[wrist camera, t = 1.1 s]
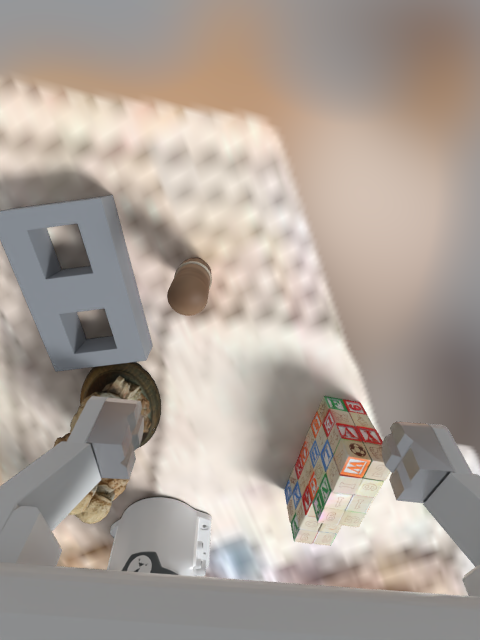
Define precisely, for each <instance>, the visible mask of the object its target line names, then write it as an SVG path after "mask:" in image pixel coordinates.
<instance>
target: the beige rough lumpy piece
mask: <svg viewBox="0 0 480 640" xmlns="http://www.w3.org/2000/svg"><path fill="white" fill-rule="evenodd" d="M92 396H97V397H108V398H117V399H127V400H136V401H141V405H142V410H141V413H140V414H141V415H142V416H143V418H144V430H143V436H142V440H141V443H140V446H139V447H141V446H142V445H144V444H145V443H147V441H149V440H150V438H151V437H152V436H153V434H154V433H155V431H156V428H157V427H156V426H158V424H159V420H160V415H161V399H160V394H159V391H158V388H157V386H156V384H155V381H154V380H153V379H152V377H151V375H150V374H149V373H148V372H146V371H145V370H143V369H142V368H141V366H140V365H139V364H137V363H135V362H129V363H121V364H113V365H105V366H97V367H94V368H93V369H92V370H91V371H90V373H89V374H88V376H87V378H86V380H85V381H84V384H83V387H82V390H81V397H80V404H81V406H80V407H79V409H78V412H77V413H76V414H75V415H74V417H73V419H72V422H71V425H70V426H71V430H70V433H68V434H66V435H65V436H63V438H61V437H60V438H57V440H56V442H55V445H54V447H55V446H56V445H57V444H59V443H60V442H61V441H66V442H67V440H68V438H69V436H70V434H71V432H72V430H73V428H74V426H75V424H76V422H77V420H78V418H79V416H80V414H81V413H82V411H83V409H84V407H85V405H86V403H87V401H88V400H89V399H90V398H91V397H92ZM154 428H155V429H154ZM152 429H154V430H153V431H152ZM139 447H138V448H139ZM130 476H131V475H130ZM128 481H129V479H112V478H101V481H100V482H99V483H98V484H97V485H96V486H95V487H94V488H93V489H92V490H91V491H90V492H89V493H88V494H87V495H86V496H85V497H84V498H83V499H82V500H81V502H80V503H79V504H78V505H77V506H76V507H75V508H74V509H73V510H72V511H71V512H70V513H69V514H68V515H75V516H76V517H78V518H79V519H80V520H81V521H82V522H84V523H88V524H92V523H93V524H94V523H97V522H99V521H101V520H102V519H103V518H105V517H106V516H107V514H108V513H109V511H110V508H111V505H112V501H114V500H115V499H116V498H117V497H118V495H120V494H121V493H122V492H123V491H124V490H125V489H126V485H127V482H128Z"/></svg>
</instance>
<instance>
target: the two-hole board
mask: <svg viewBox="0 0 480 640" xmlns="http://www.w3.org/2000/svg"><path fill="white" fill-rule="evenodd" d="M77 223H78V227H79V230H80V233H81V236H82V239H83V242H84V245H85V249H86V252H87V255H88V258H89V261H90V264H91V266H86V267H78V268H71V269H63V270H61V267H60V264H59V262H58V259H57V256H56V253H55V250H54V248H53V245H52V242H51V239H50V236H49V234H48V231H47V227H54V226H62V225H69V224H77ZM0 240H1V242H2V245H3V247H4V250H5V252H6V254H7V257H8V259H9V262H10V264H11V266H12V269H13V271H14V273H15V276H16V278H17V281H18V283H19V285H20V288H21V290H22V293H23V295H24V297H25V300H26V302H27V304H28V307H29V309H30V312H31V314H32V316H33V319H34V321H35V323H36V326H37V328H38V331H39V333H40V335H41V338H42V340H43V343H44V345H45V347H46V350H47V352H48V354H49V357H50V359H51V362H52V364H53V366H54V369H55V371H64V370H72V369H80V368H88V367H97V366H105V365H113V364H121V363H129V362H138V361H146V360H147V358H148V355H149V353H150V351H151V348H152V346H153V345H152V341H151V337H150V334H149V330H148V326H147V322H146V318H145V315H144V311H143V307H142V303H141V300H140V296H139V292H138V288H137V285H136V281H135V277H134V273H133V270H132V266H131V262H130V258H129V254H128V251H127V247H126V243H125V239H124V236H123V232H122V228H121V224H120V221H119V217H118V213H117V209H116V206H115V202H114V198H113V195H109V196H102V197H94V198H87V199H80V200H72V201H65V202H57V203H50V204H43V205H35V206H28V207H20V208H13V209H7V210H2V211H0ZM104 308H105V312H106V315H107V318H108V321H109V324H110V327H111V330H112V334H113V336H109V337H101V338H93V339H86V337H85V334H84V332H83V329H82V326H81V323H80V320H79V318H78V315H77V312H80V311H88V310H96V309H104Z"/></svg>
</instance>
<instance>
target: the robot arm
mask: <svg viewBox="0 0 480 640" xmlns="http://www.w3.org/2000/svg"><path fill="white" fill-rule="evenodd" d="M141 410H142V405H141V401H136V400H127V399H117V398H108V397H97V396H92V397H91V398H90V399H89V400H88V401H87V403H86V405H85V407H84V409H83V411H82V413H81V414H80V416H79V418H78V420H77V422H76V424H75V426H74V428H73V430H72V432H71V434H70V436H69V438H68V440H67V442H66V441H61V442H60V443H59V444H57V445H56V446H55V447H53V448H52V449H50V450H49V451H48V452H46V453H45V454H44V455H42V456H41V457H40V458H38V459H37V460H36V461H34V462H33V463H31V464H30V465H29V466H27V467H26V468H25V469H23V470H22V471H21V472H19V473H18V474H16V475H15V476H14V477H12V478H11V479H10V480H8V481H7V482H6V483H4V484H3V485H2V486H0V640H480V476H479V475H477V474H473V473H472V472H471V470H470V468H469V466H468V464H467V463H466V461H465V459H464V457H463V455H462V453H461V452H460V450H459V448H458V446H457V444H456V443H455V441H454V439H453V437H452V435H451V434H450V432H449V430H448V428H446V427H445V426H444V425H433V424H426V423H411V422H395V423H393V424H392V426H391V428H390V429H391V432H392V433H391V434H389V435H388V436H386V437H385V439H384V441H383V443H382V458H383V461H384V464H385V466H386V467H387V468H388V469H389V470H390V471H391V472H392V474H391V477H390V479H389V480H390V482H391V485H392V488H393V491H394V494H395V497H396V500H399V501H408V502H417V503H424V504H423V505H424V506H425V507H426V508H427V510H428V511H429V512H430V513H431V514H432V516H433V517H434V518H435V519H436V520H437V522H438V523H439V524H440V525H441V526H442V528H443V529H444V530H445V531H446V532H447V533H448V535H449V536H450V537H451V538H452V539H453V541H454V542H455V543H456V544H457V545H458V547H459V548H460V549H461V550H462V551H463V553H464V554H465V555H466V556H467V557H468V559H469V560H470V561H471V562H472V563H473V564H474V566H475V568H474V569H472V570H471V571H470V572H468V573H467V574H466V575H465V576H464V578H463V582H464V585H465V587H466V590H467V592H468V595H469V596H460V595H446V594H432V593H418V592H405V591H391V590H377V589H363V588H350V587H336V586H322V585H308V584H295V583H281V582H267V581H253V580H239V579H226V578H212V577H198V576H205V574H206V568H207V567H208V566H209V559H210V541H211V522H212V518H211V516H210V515H208V514H206V513H203V512H199V511H196V510H194V509H193V508H191V507H190V506H189V505H187V504H185V503H183V502H181V501H178V500H175V499H171V498H163V497H155V498H147V499H143V500H140V501H138V502H136V503H134V504H132V505H131V506H129V507H128V508H127V509H126V511H125V512H124V514H123V516H122V517H121V519H120V520H118V521H117V522H115V523H114V524H113V525H112V526H111V530H110V534H111V535H112V536H113V538H114V543H113V547H112V551H111V555H110V560H109V564H108V568H107V570H102V569H88V568H74V567H60V566H56V565H57V562H58V559H59V557H60V554H61V552H62V549H61V547H60V545H59V543H58V541H57V540H56V538H55V536H54V535H53V533H52V531H53V530H54V529H55V527H56V526H57V525H58V524H59V523H60V522H61V521H62V520H63V519H64V518H65V517H66V516H67V515H68V514H69V513H70V512H71V511H72V510H73V509H74V508H75V507H76V506H77V505H78V504H79V503H80V502H81V500H82V499H83V498H84V497H85V496H86V495H87V494H88V493H89V492H90V491H91V490H92V489H93V488H94V487H95V486H96V485H97V484H98V483H99V482H100V481H101V478H112V479H130V475H131V472H132V469H133V466H134V463H135V460H136V458H135V452H134V451H135V450H136V449H137V448H138V447H139V446H140V443H141V440H142V436H143V430H144V418H143V416H142V415H141V414H140V413H141Z"/></svg>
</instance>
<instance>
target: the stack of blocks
mask: <svg viewBox="0 0 480 640" xmlns="http://www.w3.org/2000/svg"><path fill="white" fill-rule="evenodd" d="M382 443H383V441H382V439H381V438H380V436H379V434H378V433H377V431H376V429H375V428H374V426H373V425H372V423H371V421H370V419H369V418H368V416H367V413H366V412H365V410H364V408H363V406H362V404H361V403H359V402H354V401H349V400H342V399H337V398H332V397H326V396H324V397H323V400H322V402H321V404H320V406H319V409H318V411H317V412H316V415H315V417H314V419H313V422H312V424H311V427H310V429H309V431H308V433H307V436H306V438H305V442H304V445H303V447H302V450H301V452H300V455H299V457H298V460H297V462H296V465H295V466H294V468H293V470H292V473H291V475H290V478H289V480H288V483H287V485H286V488H285V496H286V503H287V509H288V515H289V521H290V523H291V528H292V533H293V539H294V542H301V543H309V544H312V543H313V544H319V545H328V546H331V544H332V542H333V540H334V538H335V536H336V534H337V533H338V532H339V530H340V528H341V526H342V525H345V526H352V527H359V526H360V524H361V522H362V520H363V518H364V517H365V515H366V512H367V511H368V509H369V507H370V505H371V503H372V502H373V500H374V497H376V495H377V493H378V491H379V490H380V488H381V486H382V484H383V483H384V481H385V480H386V478H387V477H388V475H389V473H390V470H389V469H388V468H387V467H386V466H385V464H384V461H383V458H382Z"/></svg>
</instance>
